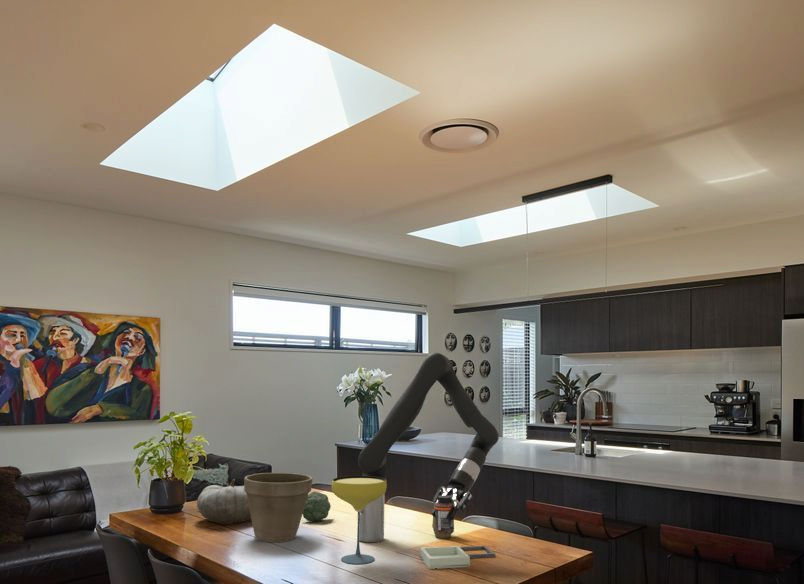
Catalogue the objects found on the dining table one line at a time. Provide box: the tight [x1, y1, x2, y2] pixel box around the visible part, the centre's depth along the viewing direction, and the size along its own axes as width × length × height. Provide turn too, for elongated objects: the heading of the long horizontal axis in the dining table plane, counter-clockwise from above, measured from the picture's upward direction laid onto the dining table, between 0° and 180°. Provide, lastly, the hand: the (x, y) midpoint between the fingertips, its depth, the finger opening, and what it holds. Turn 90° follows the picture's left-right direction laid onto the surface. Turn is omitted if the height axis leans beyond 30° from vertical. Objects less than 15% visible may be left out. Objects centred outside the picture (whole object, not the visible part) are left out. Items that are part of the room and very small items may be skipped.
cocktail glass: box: [331, 475, 388, 565], centre depth 201 cm, size 18×18×25 cm
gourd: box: [196, 478, 252, 526], centre depth 253 cm, size 25×25×17 cm
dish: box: [419, 545, 471, 570], centre depth 198 cm, size 13×13×3 cm
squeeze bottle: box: [431, 486, 453, 539], centre depth 232 cm, size 8×8×18 cm
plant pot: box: [243, 472, 313, 543], centre depth 228 cm, size 25×25×22 cm
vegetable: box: [302, 491, 332, 523], centre depth 257 cm, size 12×13×15 cm
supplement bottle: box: [435, 495, 455, 535], centre depth 200 cm, size 6×6×11 cm
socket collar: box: [459, 545, 496, 559], centre depth 208 cm, size 10×10×1 cm
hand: (441, 517), depth 199 cm, fingers closed on supplement bottle, 6 cm apart
